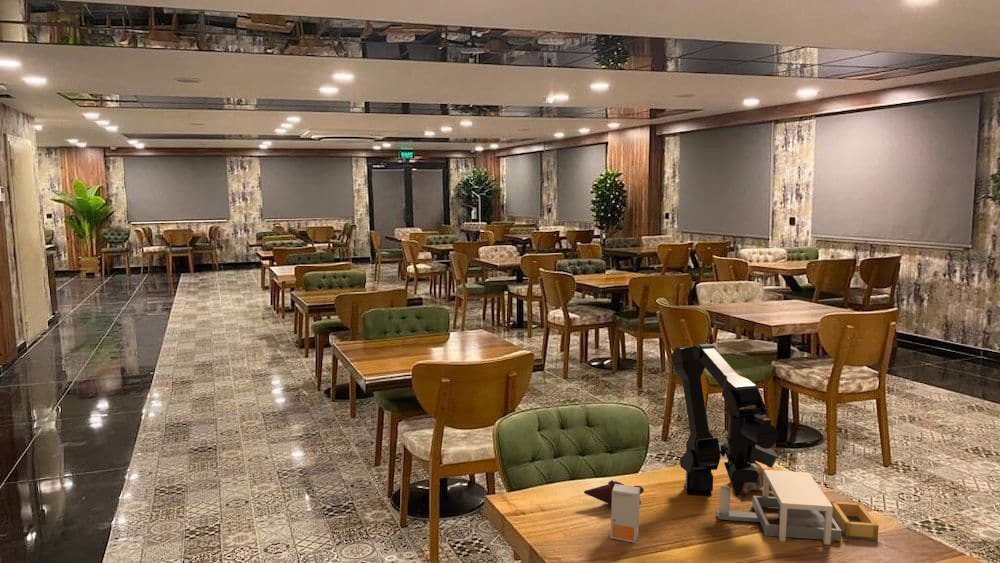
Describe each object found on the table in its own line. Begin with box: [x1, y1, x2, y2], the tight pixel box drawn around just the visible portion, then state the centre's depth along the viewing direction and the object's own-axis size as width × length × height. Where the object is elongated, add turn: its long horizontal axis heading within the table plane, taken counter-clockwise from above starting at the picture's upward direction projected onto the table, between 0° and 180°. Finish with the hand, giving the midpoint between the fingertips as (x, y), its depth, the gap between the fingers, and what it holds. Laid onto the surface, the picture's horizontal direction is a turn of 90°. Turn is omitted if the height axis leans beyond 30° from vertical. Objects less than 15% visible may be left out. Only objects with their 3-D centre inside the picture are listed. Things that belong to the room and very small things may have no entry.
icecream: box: [583, 479, 645, 509], centre depth 182 cm, size 7×8×15 cm
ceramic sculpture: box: [741, 461, 773, 494], centre depth 194 cm, size 11×9×15 cm
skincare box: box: [610, 484, 641, 544], centre depth 165 cm, size 6×4×12 cm
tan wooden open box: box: [830, 501, 880, 541], centre depth 171 cm, size 7×12×4 cm, turn 171°
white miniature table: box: [762, 469, 833, 546], centre depth 173 cm, size 11×20×9 cm, turn 171°
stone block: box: [778, 506, 825, 528], centre depth 173 cm, size 12×5×10 cm
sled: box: [716, 486, 843, 542], centre depth 173 cm, size 26×17×7 cm, turn 81°
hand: (737, 495), depth 175 cm, fingers closed
